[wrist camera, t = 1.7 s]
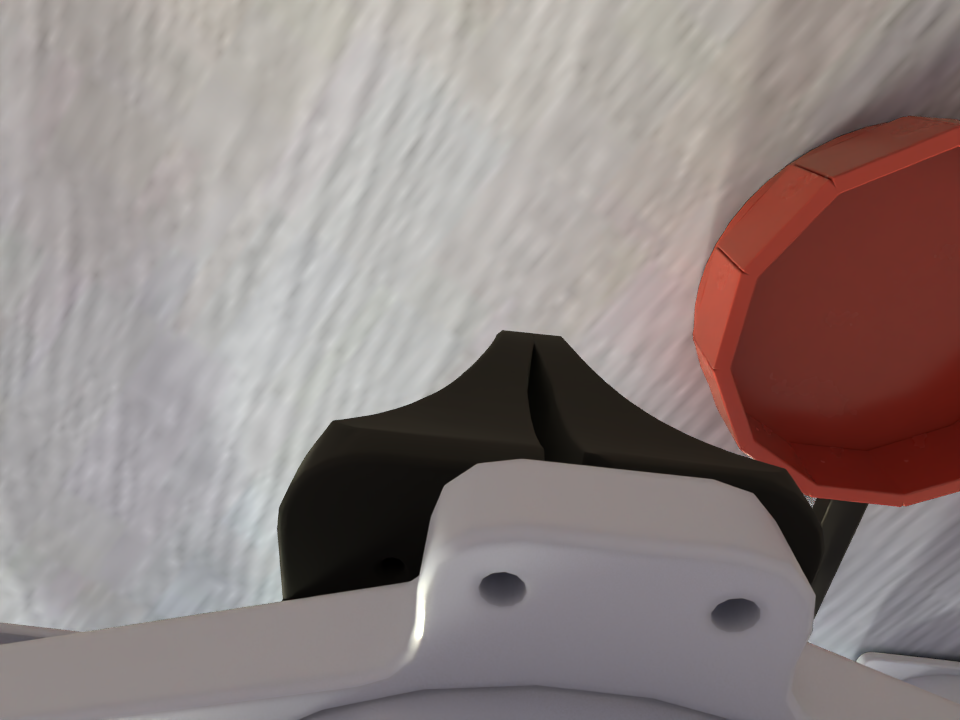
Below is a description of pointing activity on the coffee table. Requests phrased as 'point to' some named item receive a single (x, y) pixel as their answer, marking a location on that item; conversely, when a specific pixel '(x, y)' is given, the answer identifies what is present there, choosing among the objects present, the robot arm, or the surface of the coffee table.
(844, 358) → the pan
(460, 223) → the coffee table surface
